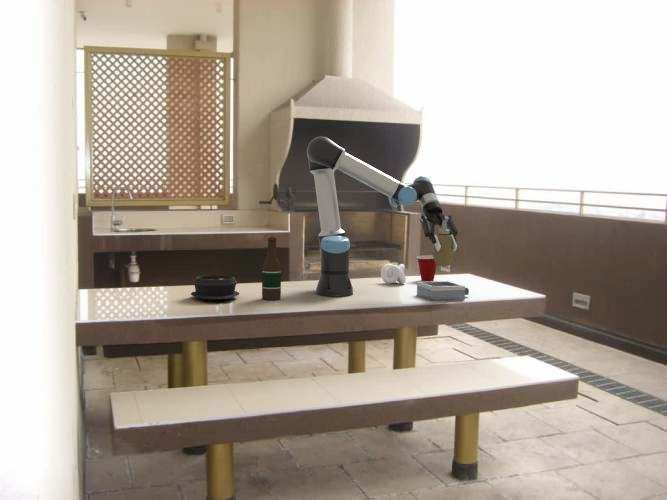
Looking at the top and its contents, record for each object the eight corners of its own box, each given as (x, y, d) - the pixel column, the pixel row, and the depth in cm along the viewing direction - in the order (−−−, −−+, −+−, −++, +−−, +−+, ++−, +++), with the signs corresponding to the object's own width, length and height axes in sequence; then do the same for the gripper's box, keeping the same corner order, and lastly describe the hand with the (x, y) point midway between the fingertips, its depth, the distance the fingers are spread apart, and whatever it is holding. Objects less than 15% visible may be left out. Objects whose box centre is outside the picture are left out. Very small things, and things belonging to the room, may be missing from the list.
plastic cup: (412, 279, 328) (413, 254, 327) (433, 278, 331) (433, 254, 330) (420, 282, 318) (421, 256, 316) (442, 281, 320) (442, 256, 319)
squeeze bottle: (452, 266, 268) (454, 221, 266) (432, 265, 269) (433, 220, 268) (453, 264, 276) (454, 220, 274) (433, 263, 277) (434, 220, 276)
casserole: (243, 303, 251) (243, 281, 250) (192, 304, 246) (192, 281, 245) (235, 293, 275) (235, 272, 274) (189, 294, 270) (188, 273, 270)
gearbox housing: (432, 300, 265) (432, 287, 264) (416, 294, 279) (417, 281, 278) (475, 299, 270) (476, 285, 270) (458, 293, 284) (458, 280, 284)
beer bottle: (265, 301, 257) (266, 238, 255) (258, 297, 264) (258, 236, 261) (284, 299, 260) (285, 237, 258) (276, 296, 267) (277, 236, 265)
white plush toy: (381, 285, 307) (382, 265, 306) (379, 281, 319) (379, 262, 318) (406, 285, 307) (407, 265, 306) (403, 281, 319) (403, 262, 318)
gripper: (449, 212, 288) (466, 254, 274) (406, 212, 283) (421, 255, 269) (455, 200, 283) (472, 242, 269) (412, 200, 277) (427, 243, 263)
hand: (447, 248), depth 269 cm, fingers closed on squeeze bottle, 6 cm apart
